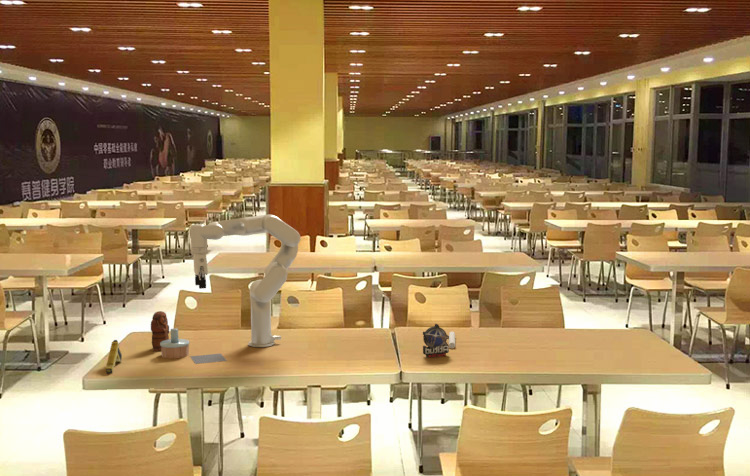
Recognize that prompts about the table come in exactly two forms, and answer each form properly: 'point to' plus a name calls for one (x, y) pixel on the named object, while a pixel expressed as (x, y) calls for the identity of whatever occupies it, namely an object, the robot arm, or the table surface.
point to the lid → (174, 340)
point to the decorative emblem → (435, 342)
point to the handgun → (113, 356)
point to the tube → (452, 340)
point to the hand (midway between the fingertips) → (200, 286)
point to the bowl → (175, 352)
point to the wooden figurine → (159, 329)
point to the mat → (208, 358)
